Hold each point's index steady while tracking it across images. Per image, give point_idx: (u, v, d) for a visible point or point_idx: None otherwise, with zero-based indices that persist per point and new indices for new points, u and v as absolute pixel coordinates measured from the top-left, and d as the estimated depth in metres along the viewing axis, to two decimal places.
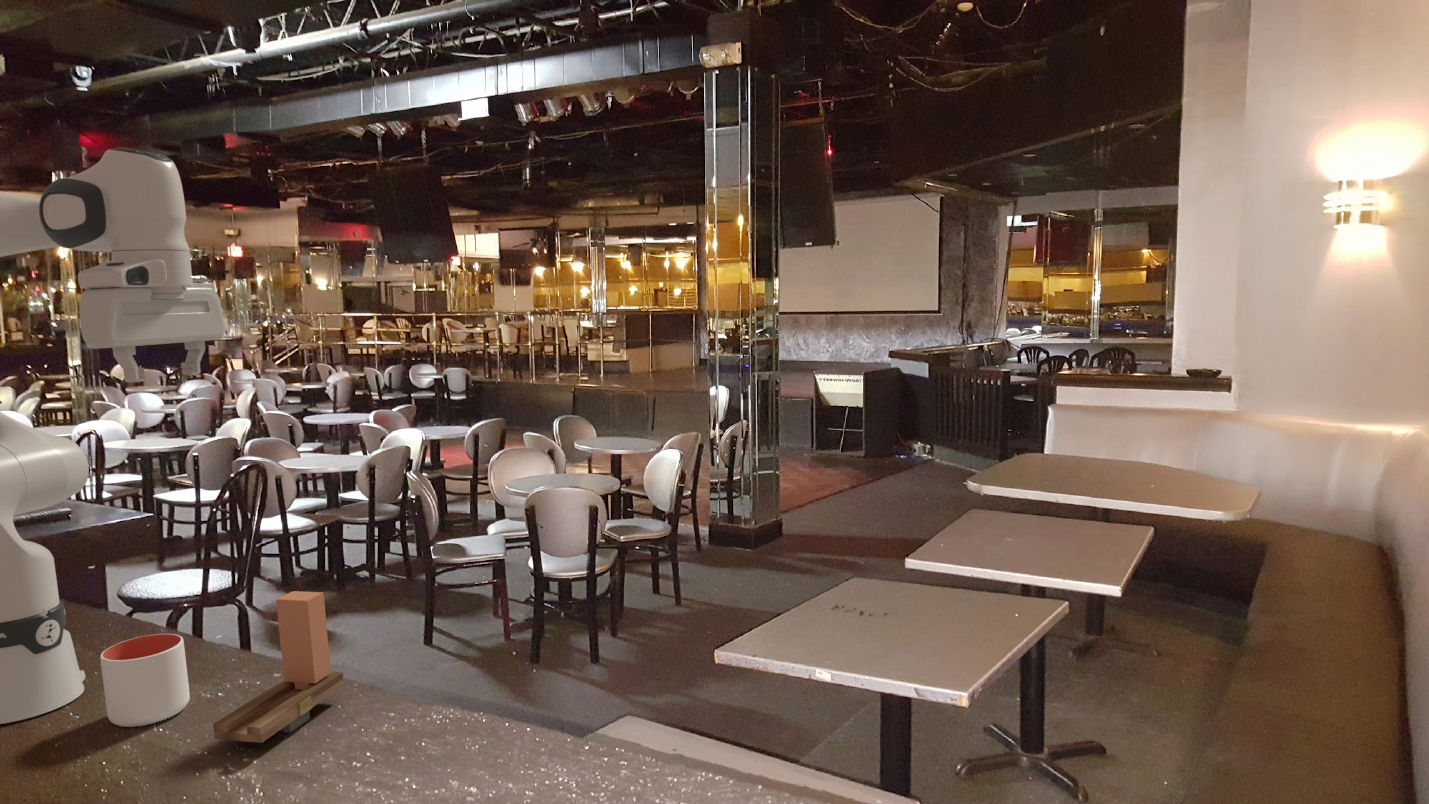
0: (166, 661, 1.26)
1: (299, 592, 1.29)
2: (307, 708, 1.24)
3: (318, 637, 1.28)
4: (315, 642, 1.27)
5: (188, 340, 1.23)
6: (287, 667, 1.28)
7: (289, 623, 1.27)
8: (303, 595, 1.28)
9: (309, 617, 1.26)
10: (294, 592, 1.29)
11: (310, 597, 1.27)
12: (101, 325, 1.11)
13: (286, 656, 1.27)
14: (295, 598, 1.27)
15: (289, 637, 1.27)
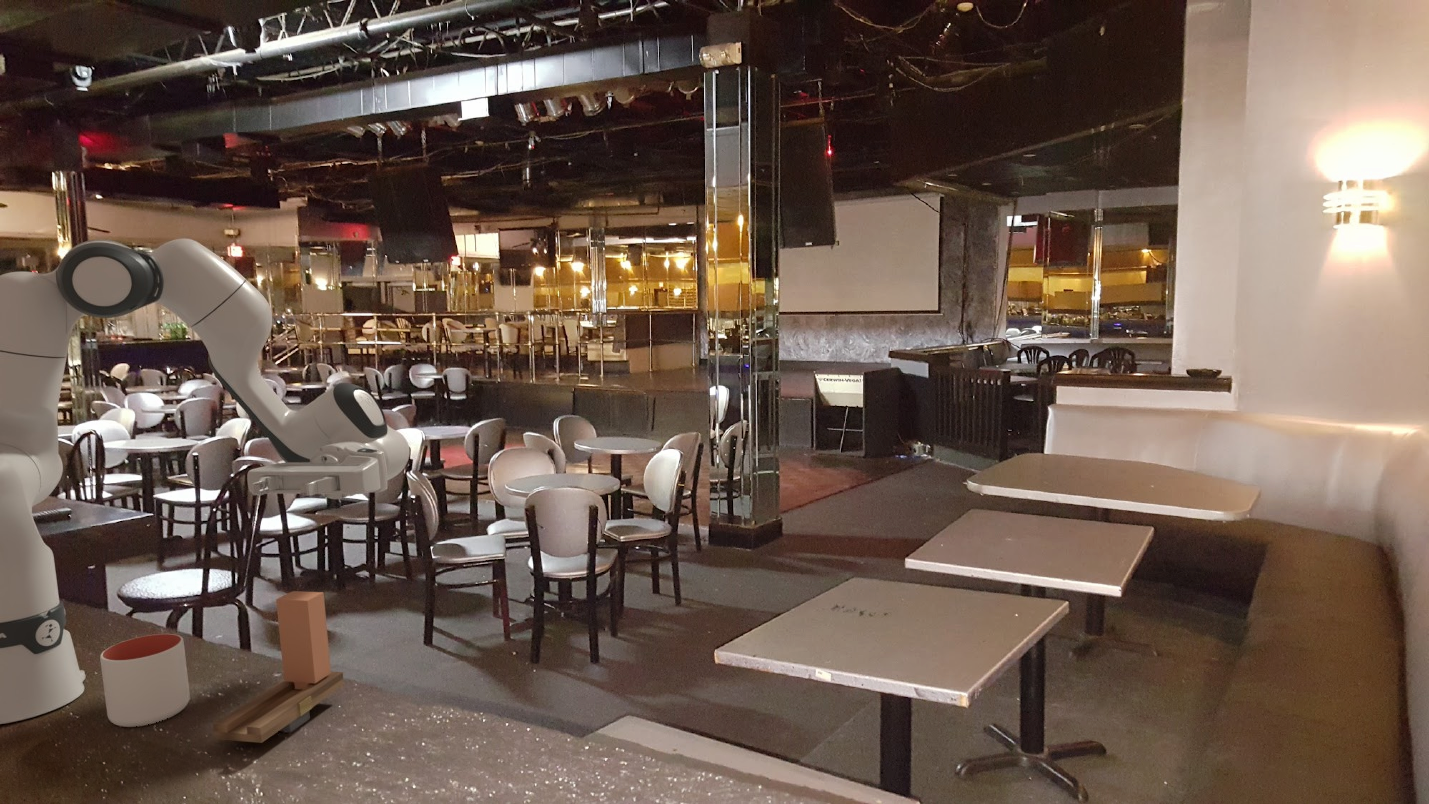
0: (166, 661, 1.26)
1: (299, 592, 1.29)
2: (307, 708, 1.24)
3: (318, 637, 1.28)
4: (315, 642, 1.27)
5: (286, 493, 1.38)
6: (287, 667, 1.28)
7: (289, 623, 1.27)
8: (303, 595, 1.28)
9: (309, 617, 1.26)
10: (294, 592, 1.29)
11: (310, 597, 1.27)
12: (371, 487, 1.38)
13: (286, 656, 1.27)
14: (295, 598, 1.27)
15: (289, 637, 1.27)
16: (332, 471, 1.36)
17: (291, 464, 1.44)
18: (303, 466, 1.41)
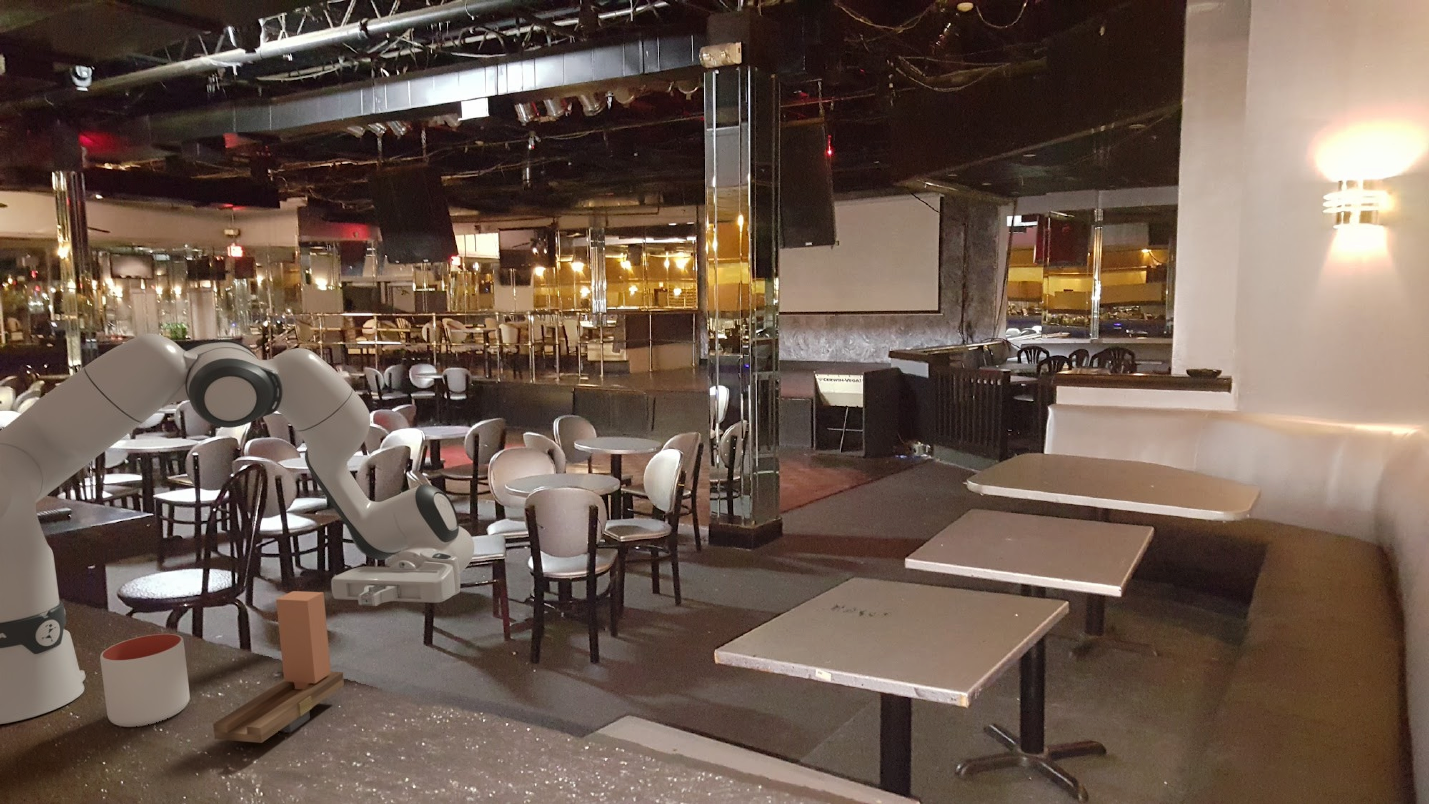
0: (166, 661, 1.26)
1: (299, 592, 1.29)
2: (307, 708, 1.24)
3: (318, 637, 1.28)
4: (315, 642, 1.27)
5: None
6: (287, 667, 1.28)
7: (289, 623, 1.27)
8: (303, 595, 1.28)
9: (309, 617, 1.26)
10: (294, 592, 1.29)
11: (310, 597, 1.27)
12: (448, 594, 1.48)
13: (286, 656, 1.27)
14: (295, 598, 1.27)
15: (289, 637, 1.27)
16: (413, 581, 1.46)
17: (370, 569, 1.53)
18: (383, 573, 1.51)
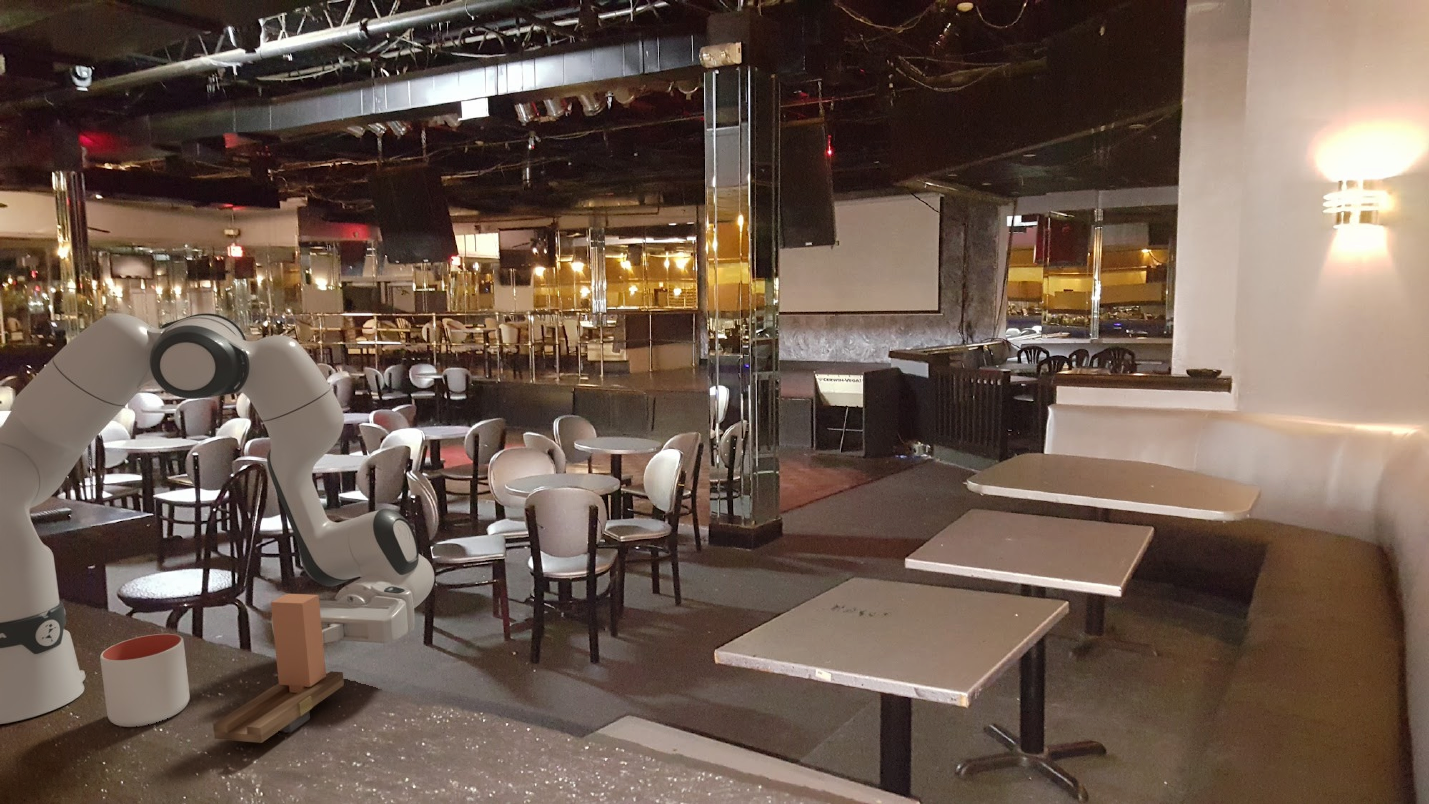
0: (166, 661, 1.26)
1: (294, 594, 1.28)
2: (307, 708, 1.24)
3: (313, 640, 1.27)
4: (310, 645, 1.26)
5: None
6: (282, 670, 1.27)
7: (284, 625, 1.26)
8: (298, 598, 1.27)
9: (304, 620, 1.25)
10: (289, 595, 1.28)
11: (305, 600, 1.26)
12: (399, 633, 1.35)
13: (281, 660, 1.26)
14: (290, 600, 1.26)
15: (283, 640, 1.26)
16: (360, 619, 1.33)
17: None
18: (329, 608, 1.38)
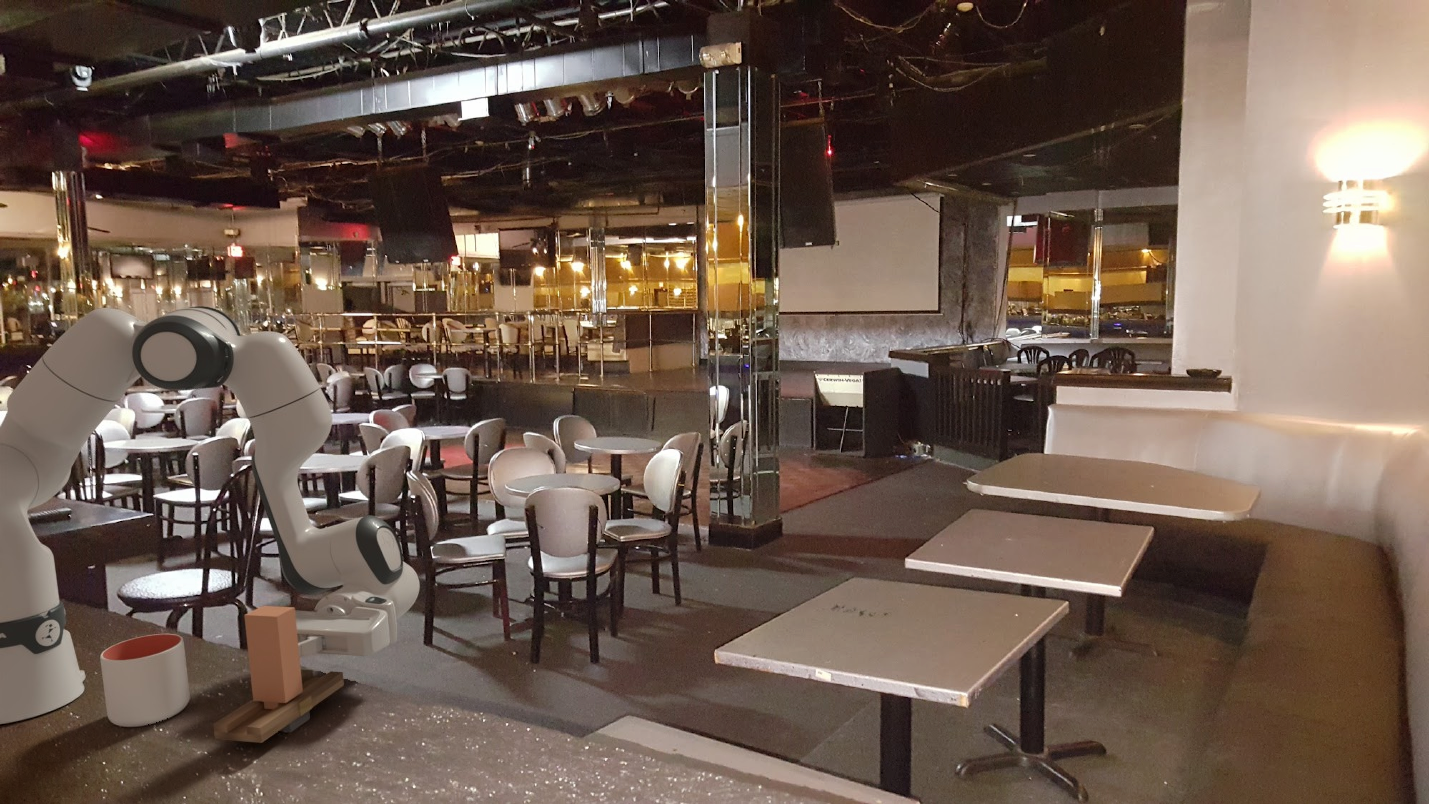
0: (166, 661, 1.26)
1: (269, 607, 1.23)
2: (307, 708, 1.24)
3: (289, 654, 1.22)
4: (285, 660, 1.21)
5: None
6: (257, 686, 1.22)
7: (258, 639, 1.21)
8: (273, 611, 1.22)
9: (279, 634, 1.20)
10: (264, 607, 1.23)
11: (280, 613, 1.21)
12: (380, 646, 1.30)
13: (255, 675, 1.22)
14: (264, 613, 1.21)
15: (258, 654, 1.21)
16: (339, 631, 1.28)
17: (295, 614, 1.35)
18: (308, 619, 1.33)
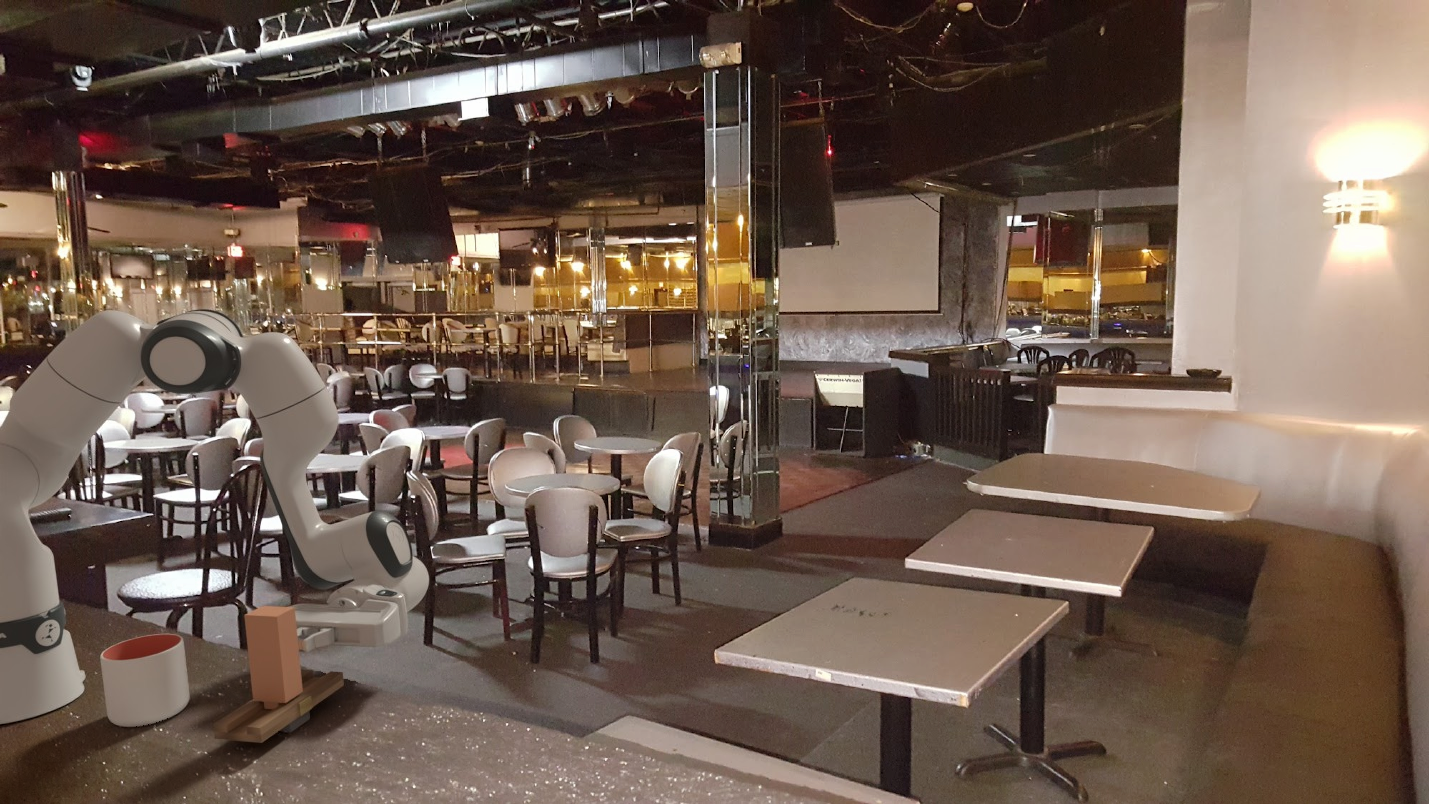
0: (166, 661, 1.26)
1: (269, 607, 1.23)
2: (307, 708, 1.24)
3: (289, 654, 1.22)
4: (285, 660, 1.21)
5: None
6: (257, 686, 1.22)
7: (258, 639, 1.21)
8: (273, 611, 1.22)
9: (279, 634, 1.20)
10: (264, 607, 1.23)
11: (280, 613, 1.21)
12: (391, 637, 1.32)
13: (255, 675, 1.22)
14: (264, 613, 1.21)
15: (258, 654, 1.21)
16: (351, 623, 1.30)
17: (307, 607, 1.38)
18: (320, 612, 1.35)
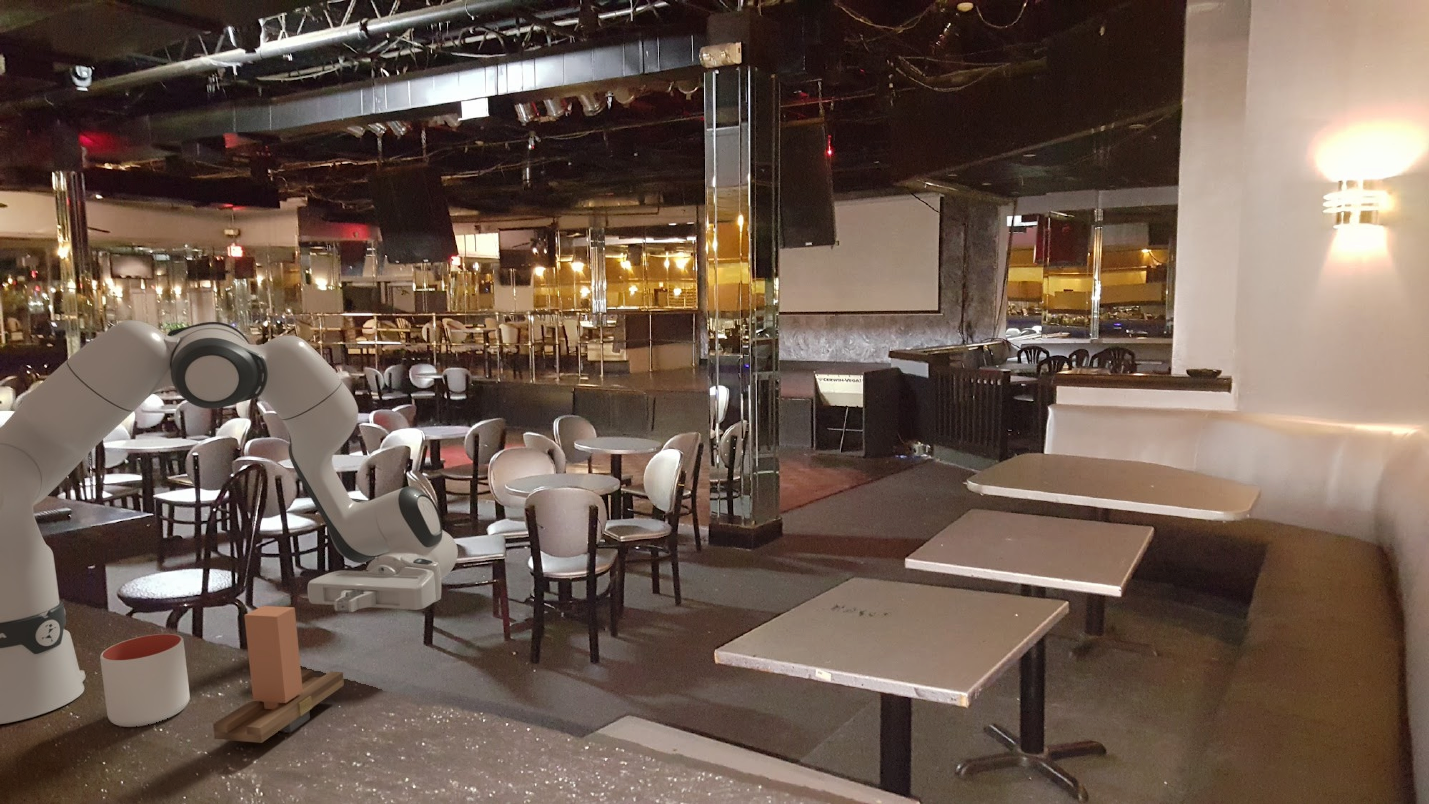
0: (166, 661, 1.26)
1: (269, 607, 1.23)
2: (307, 708, 1.24)
3: (289, 654, 1.22)
4: (285, 660, 1.21)
5: None
6: (257, 686, 1.22)
7: (258, 639, 1.21)
8: (273, 611, 1.22)
9: (279, 634, 1.20)
10: (264, 607, 1.23)
11: (280, 613, 1.21)
12: (428, 601, 1.43)
13: (255, 675, 1.22)
14: (264, 613, 1.21)
15: (258, 654, 1.21)
16: (392, 587, 1.41)
17: (349, 573, 1.48)
18: (361, 577, 1.46)
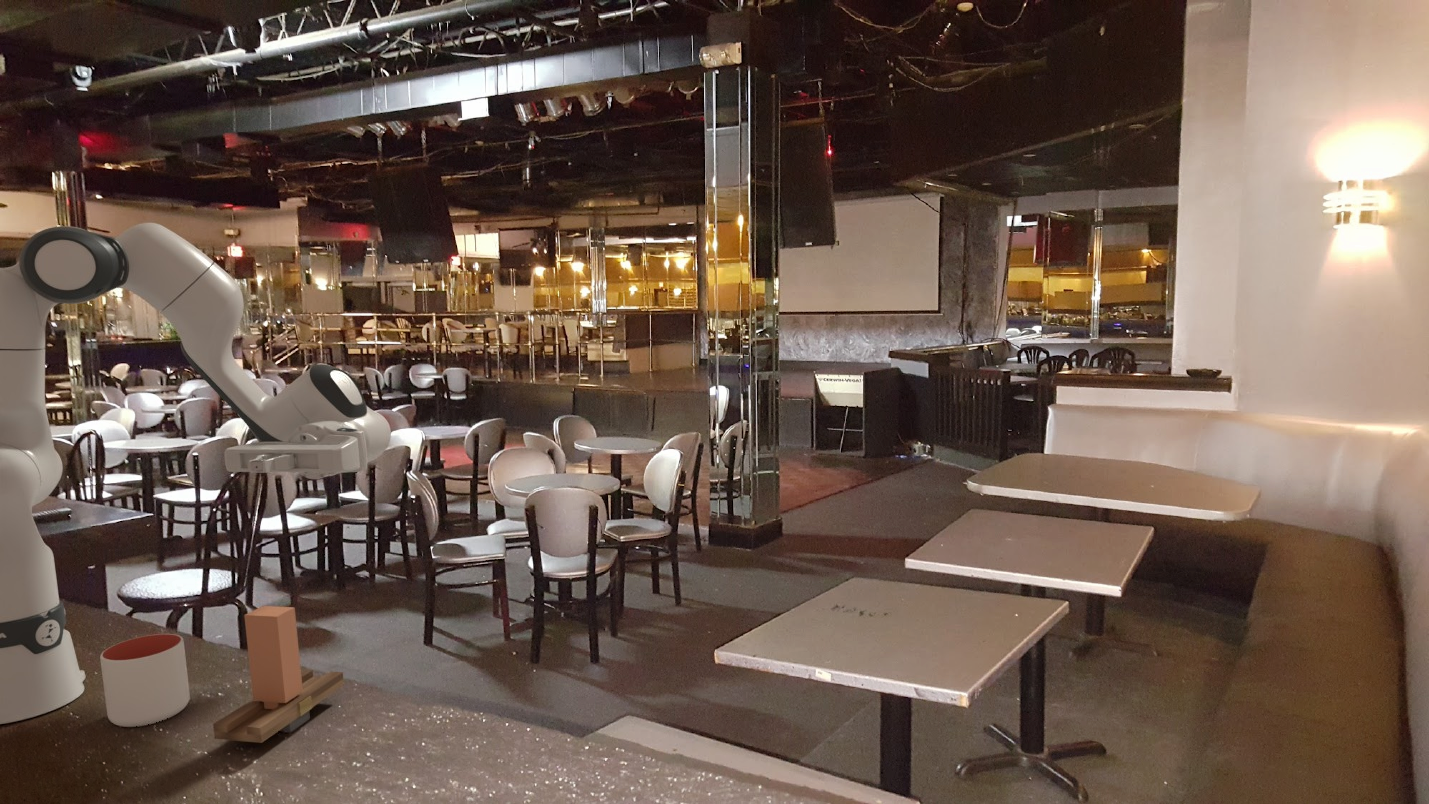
0: (166, 661, 1.26)
1: (269, 607, 1.23)
2: (307, 708, 1.24)
3: (289, 654, 1.22)
4: (285, 660, 1.21)
5: None
6: (257, 686, 1.22)
7: (258, 639, 1.21)
8: (273, 611, 1.22)
9: (279, 634, 1.20)
10: (264, 607, 1.23)
11: (280, 613, 1.21)
12: (349, 465, 1.36)
13: (255, 675, 1.22)
14: (264, 613, 1.21)
15: (258, 654, 1.21)
16: (310, 449, 1.34)
17: (269, 443, 1.42)
18: (281, 445, 1.39)
